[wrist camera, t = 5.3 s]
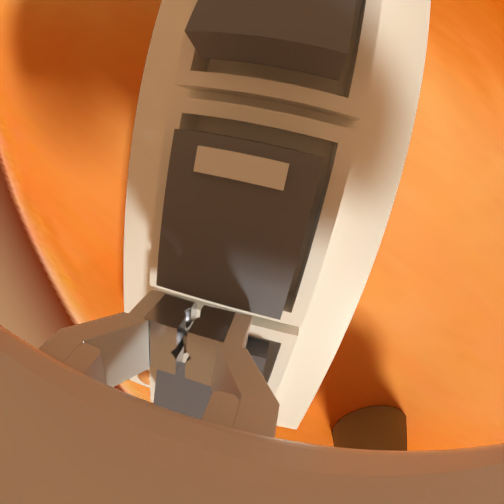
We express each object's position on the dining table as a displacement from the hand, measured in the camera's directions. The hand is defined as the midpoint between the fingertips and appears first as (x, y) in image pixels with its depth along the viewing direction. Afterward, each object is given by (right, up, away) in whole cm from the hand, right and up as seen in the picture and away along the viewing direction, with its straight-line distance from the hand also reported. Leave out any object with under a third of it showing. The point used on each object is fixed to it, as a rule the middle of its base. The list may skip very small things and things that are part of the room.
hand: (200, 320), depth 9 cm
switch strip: (+3, +8, +4) cm, 9 cm away
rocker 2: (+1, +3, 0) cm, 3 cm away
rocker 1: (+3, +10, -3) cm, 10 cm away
